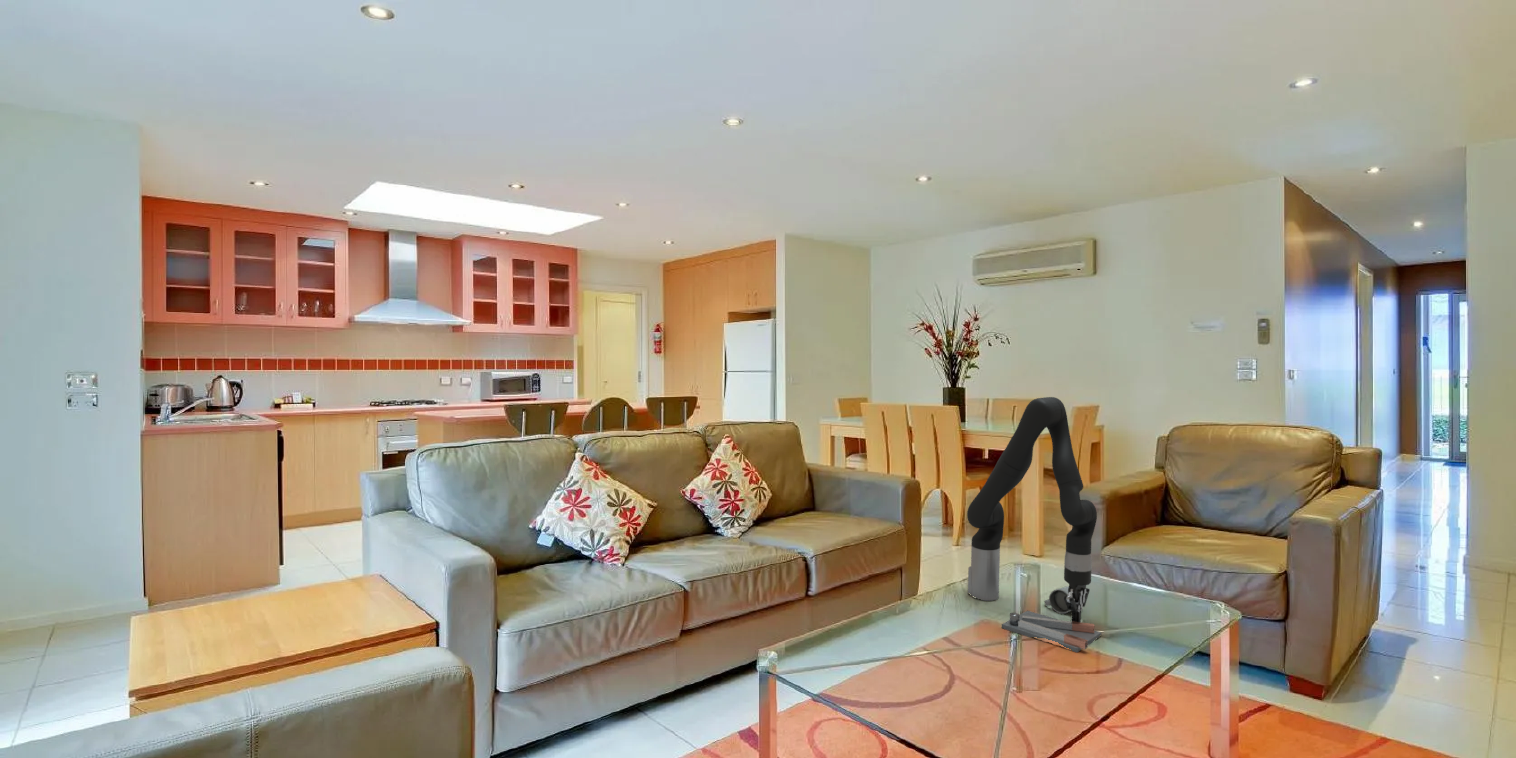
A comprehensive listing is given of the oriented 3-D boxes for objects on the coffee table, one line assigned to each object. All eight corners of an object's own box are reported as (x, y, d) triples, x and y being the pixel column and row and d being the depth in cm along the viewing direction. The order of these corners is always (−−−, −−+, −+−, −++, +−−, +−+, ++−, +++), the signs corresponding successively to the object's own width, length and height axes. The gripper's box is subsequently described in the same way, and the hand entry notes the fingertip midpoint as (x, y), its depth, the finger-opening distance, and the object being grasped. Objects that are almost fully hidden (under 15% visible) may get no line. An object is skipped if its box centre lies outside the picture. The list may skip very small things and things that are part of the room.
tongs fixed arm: (1006, 624, 224) (1007, 614, 224) (1012, 621, 227) (1012, 611, 227) (1084, 649, 207) (1085, 638, 207) (1090, 645, 209) (1090, 635, 209)
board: (1001, 628, 225) (1001, 624, 225) (1027, 614, 235) (1027, 610, 235) (1077, 652, 208) (1077, 648, 208) (1101, 636, 219) (1101, 632, 219)
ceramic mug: (1083, 610, 239) (1083, 586, 238) (1071, 616, 233) (1071, 592, 233) (1051, 601, 247) (1051, 579, 246) (1039, 607, 241) (1039, 584, 241)
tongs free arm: (1022, 624, 224) (1022, 617, 224) (1022, 621, 226) (1022, 615, 226) (1094, 633, 218) (1094, 626, 217) (1093, 630, 219) (1093, 623, 219)
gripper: (1075, 558, 230) (1073, 613, 231) (1055, 568, 221) (1054, 624, 222) (1099, 564, 224) (1097, 620, 226) (1080, 574, 215) (1079, 632, 217)
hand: (1076, 622), depth 224 cm, fingers closed
